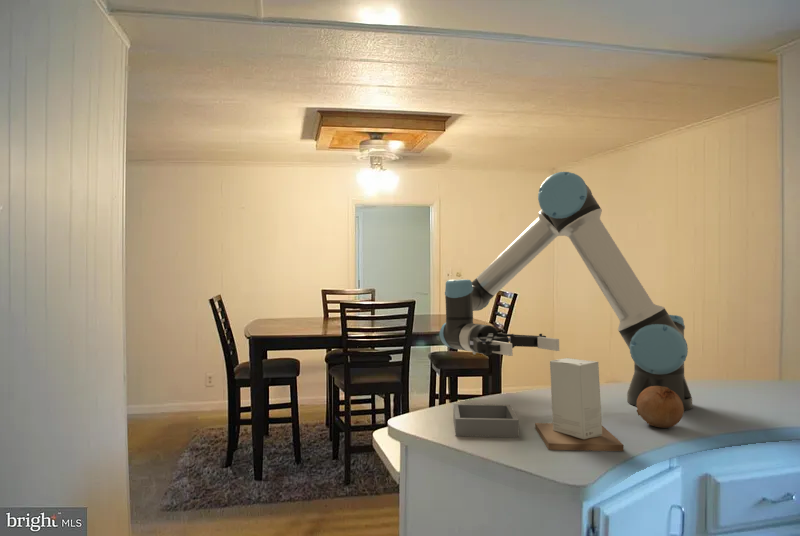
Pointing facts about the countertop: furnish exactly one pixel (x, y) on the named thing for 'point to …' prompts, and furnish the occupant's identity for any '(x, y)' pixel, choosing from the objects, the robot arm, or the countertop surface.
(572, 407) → the skincare box
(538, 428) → the coaster
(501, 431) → the holder
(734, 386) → the countertop surface
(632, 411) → the countertop surface
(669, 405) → the onion
